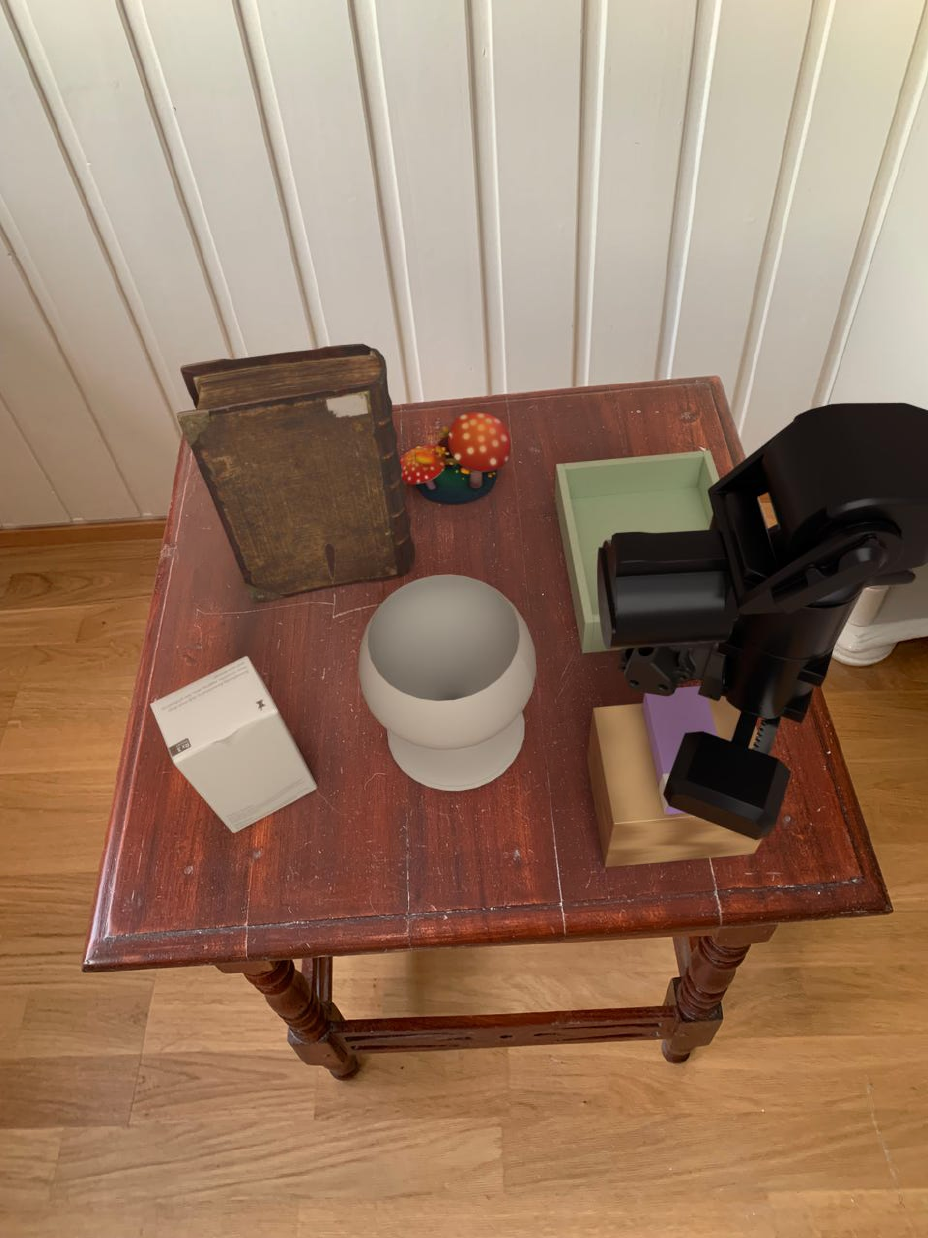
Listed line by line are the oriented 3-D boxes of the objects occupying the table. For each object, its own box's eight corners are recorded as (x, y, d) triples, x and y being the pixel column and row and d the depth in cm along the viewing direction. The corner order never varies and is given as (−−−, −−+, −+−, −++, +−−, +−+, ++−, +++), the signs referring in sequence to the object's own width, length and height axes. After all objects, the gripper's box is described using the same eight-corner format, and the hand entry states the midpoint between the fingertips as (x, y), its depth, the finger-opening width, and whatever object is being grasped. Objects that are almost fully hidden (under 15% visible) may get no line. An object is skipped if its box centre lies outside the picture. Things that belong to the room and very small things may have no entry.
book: (416, 538, 93) (384, 337, 72) (418, 593, 89) (385, 396, 68) (254, 551, 93) (178, 354, 73) (249, 607, 89) (166, 415, 68)
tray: (702, 484, 95) (710, 449, 91) (749, 638, 84) (761, 606, 79) (554, 497, 95) (555, 463, 91) (582, 653, 84) (585, 622, 80)
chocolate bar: (700, 701, 70) (705, 684, 68) (728, 809, 65) (734, 795, 63) (640, 706, 70) (644, 690, 68) (664, 815, 65) (668, 801, 63)
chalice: (556, 688, 82) (562, 589, 69) (502, 826, 74) (497, 742, 62) (415, 644, 85) (397, 542, 73) (350, 771, 78) (318, 682, 66)
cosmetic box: (293, 739, 80) (251, 647, 68) (320, 793, 77) (282, 707, 65) (204, 783, 78) (145, 698, 66) (229, 841, 75) (172, 762, 63)
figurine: (506, 439, 100) (505, 379, 93) (514, 501, 95) (513, 442, 88) (399, 448, 100) (389, 388, 93) (400, 511, 95) (391, 452, 88)
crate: (725, 746, 77) (746, 693, 70) (754, 854, 72) (780, 809, 65) (586, 759, 77) (592, 707, 70) (604, 867, 72) (613, 824, 65)
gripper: (693, 461, 56) (662, 607, 69) (586, 701, 47) (573, 819, 59) (879, 512, 53) (810, 656, 66) (803, 781, 44) (740, 887, 56)
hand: (733, 746), depth 62 cm, fingers open, 9 cm apart
